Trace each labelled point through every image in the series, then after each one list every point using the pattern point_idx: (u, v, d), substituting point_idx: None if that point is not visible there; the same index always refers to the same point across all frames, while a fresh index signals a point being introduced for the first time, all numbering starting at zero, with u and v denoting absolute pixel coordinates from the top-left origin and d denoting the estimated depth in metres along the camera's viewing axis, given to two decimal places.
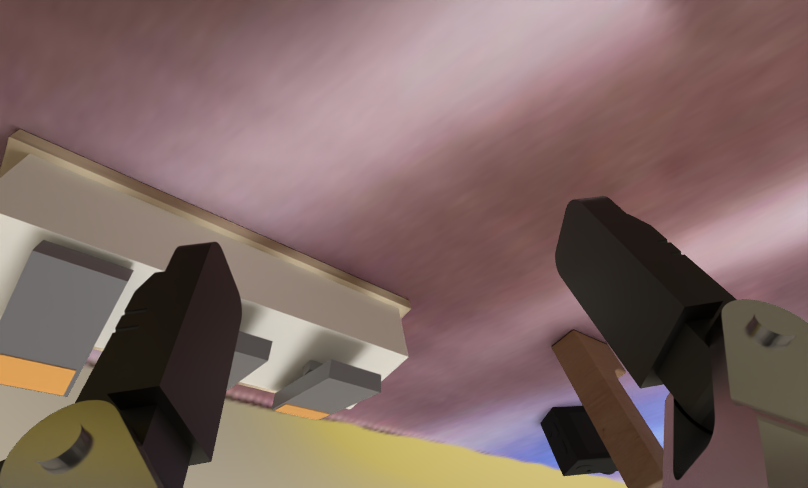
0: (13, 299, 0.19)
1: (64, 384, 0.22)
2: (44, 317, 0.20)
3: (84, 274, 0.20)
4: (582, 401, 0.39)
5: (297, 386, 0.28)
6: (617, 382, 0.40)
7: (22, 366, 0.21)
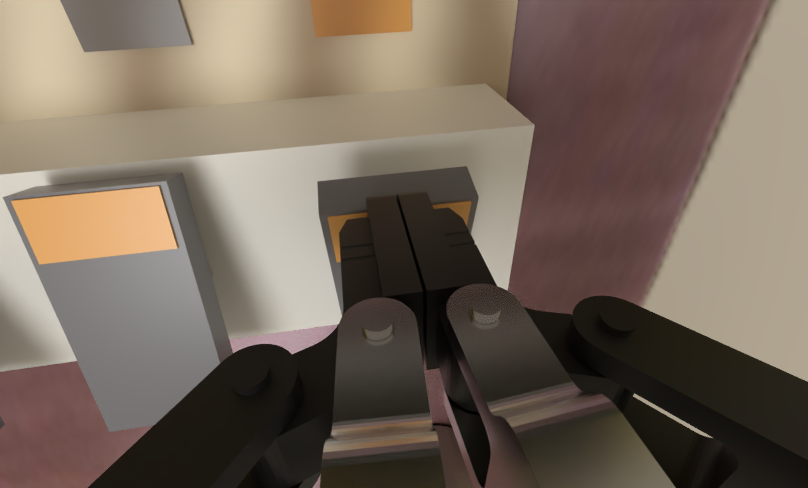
0: None
1: (338, 234, 0.10)
2: None
3: None
4: None
5: None
6: None
7: None
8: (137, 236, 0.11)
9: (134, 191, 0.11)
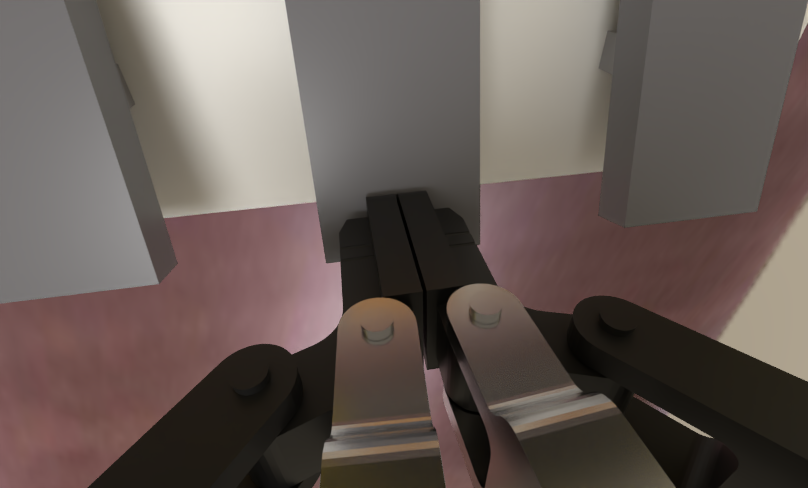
0: (777, 104, 0.10)
1: None
2: (733, 87, 0.10)
3: (687, 207, 0.11)
4: None
5: (112, 94, 0.09)
6: None
7: None
8: None
9: None
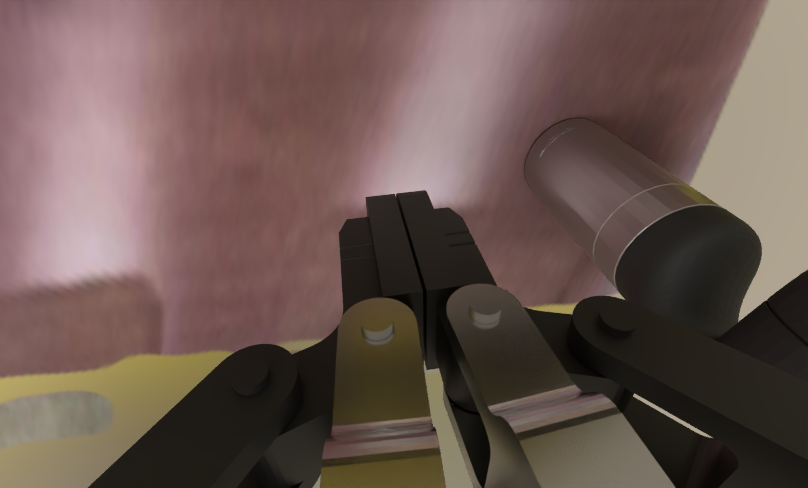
0: None
1: None
2: None
3: None
4: None
5: None
6: None
7: None
8: None
9: None
